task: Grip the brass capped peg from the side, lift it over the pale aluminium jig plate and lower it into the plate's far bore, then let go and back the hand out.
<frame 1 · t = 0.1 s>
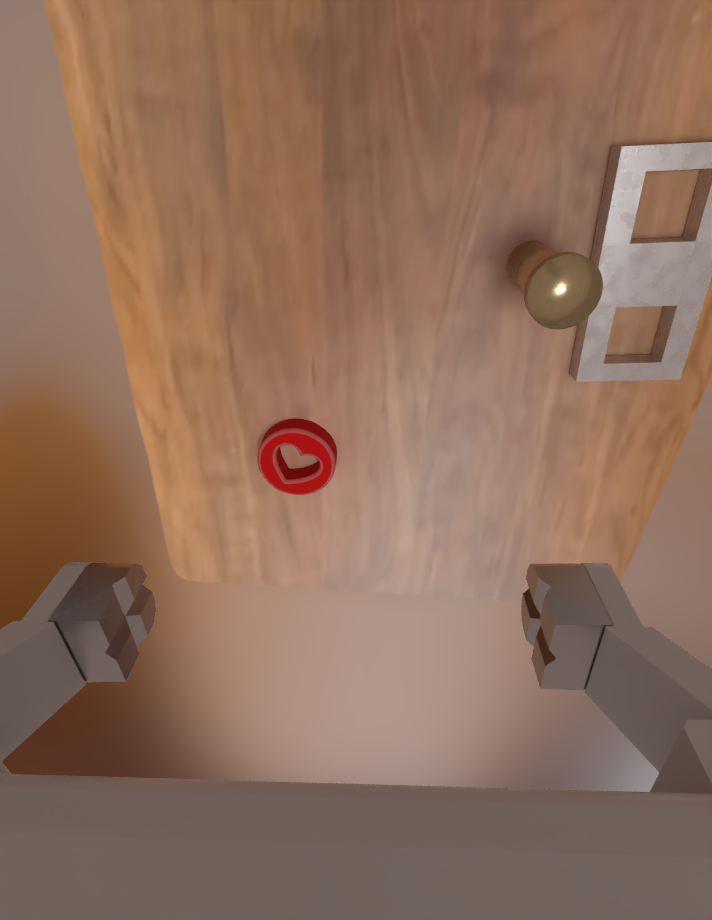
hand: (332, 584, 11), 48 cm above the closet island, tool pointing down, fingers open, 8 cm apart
brass capped peg: (529, 264, 52), on the closet island
decorative ornament: (299, 450, 66), on the closet island
jig: (643, 270, 52), on the closet island
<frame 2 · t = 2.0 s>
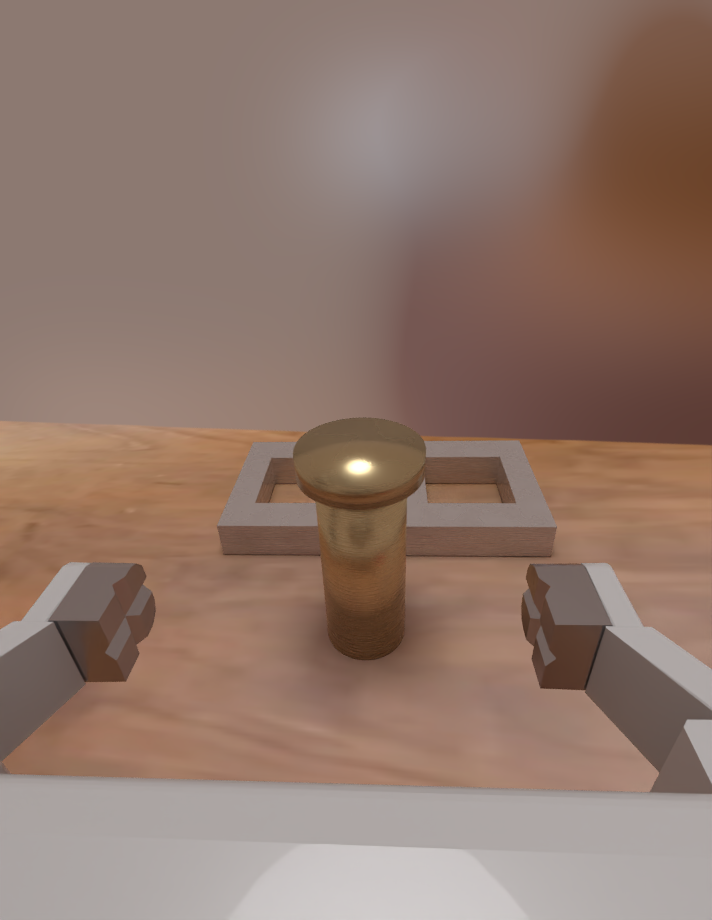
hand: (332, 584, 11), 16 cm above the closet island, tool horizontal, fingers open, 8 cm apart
brass capped peg: (366, 627, 30), on the closet island
jig: (384, 505, 39), on the closet island
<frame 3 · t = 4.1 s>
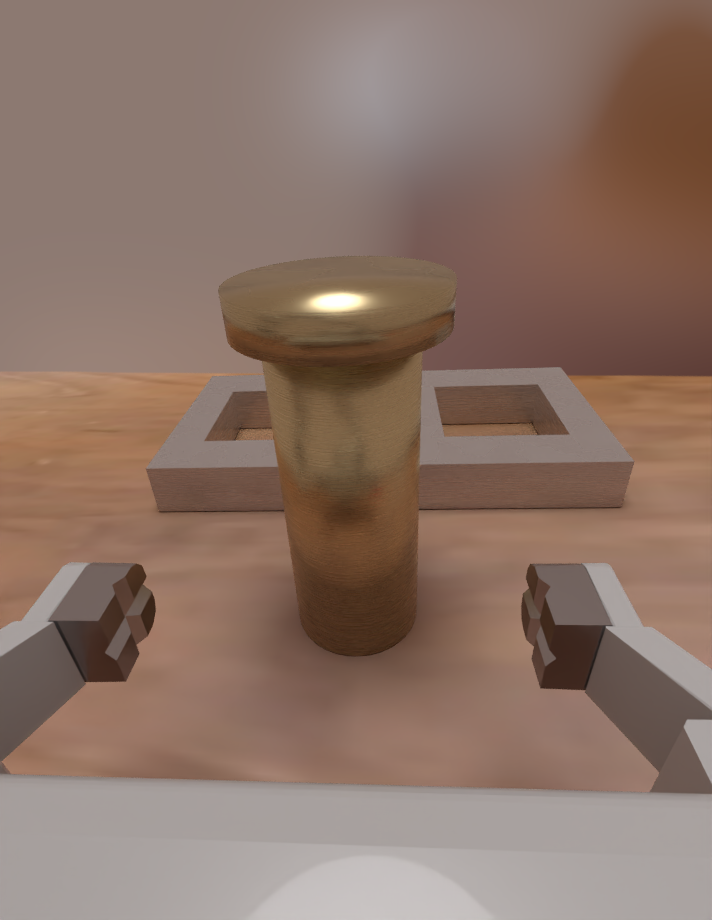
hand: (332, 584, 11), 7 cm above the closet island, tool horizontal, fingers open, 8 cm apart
brass capped peg: (357, 606, 19), on the closet island
jig: (383, 450, 29), on the closet island
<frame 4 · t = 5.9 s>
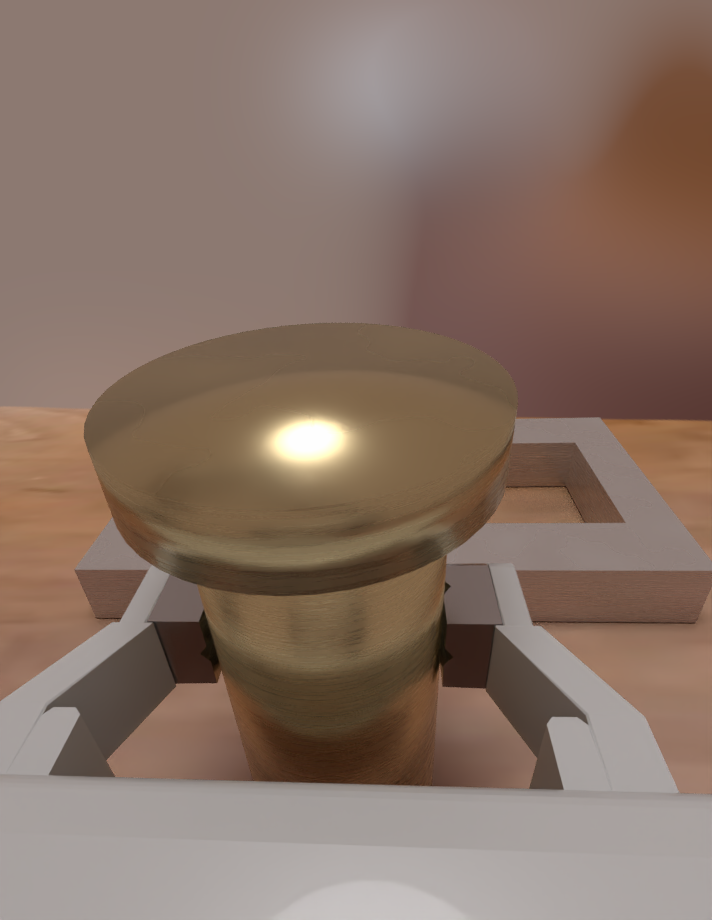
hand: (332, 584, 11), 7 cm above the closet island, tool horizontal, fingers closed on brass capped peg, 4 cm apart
brass capped peg: (347, 796, 14), on the closet island, touching gripper
jig: (384, 525, 24), on the closet island
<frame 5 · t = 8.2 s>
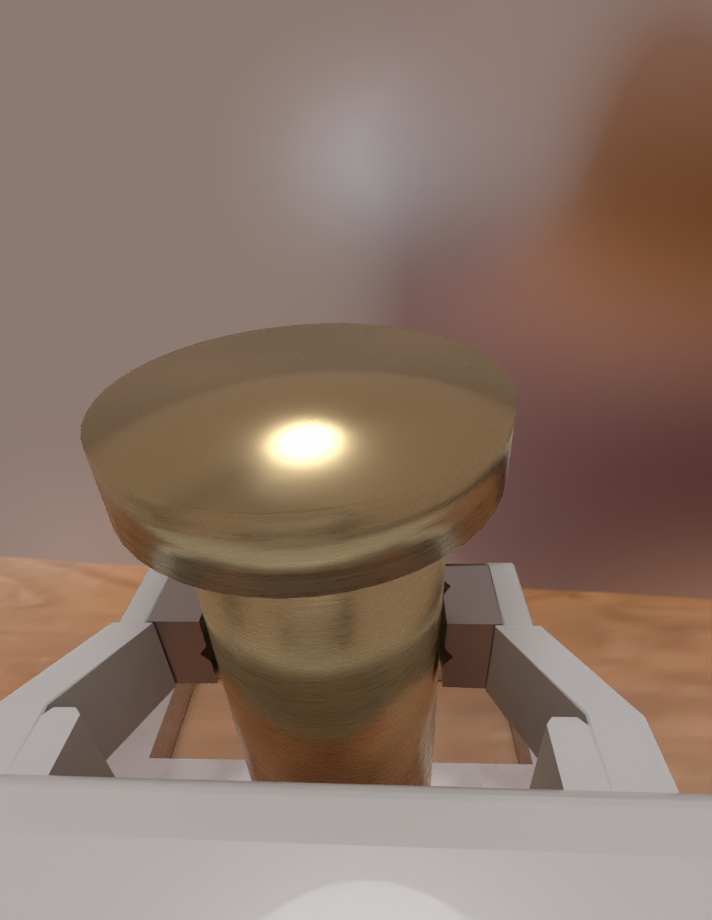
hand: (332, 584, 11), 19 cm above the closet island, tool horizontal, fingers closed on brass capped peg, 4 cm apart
brass capped peg: (346, 797, 14), point 12 cm above the closet island, touching gripper
jig: (343, 729, 28), on the closet island
when the fingers open (8 cm above the closet island, at t = 10.8 s): brass capped peg stays where it is, resting in jig.
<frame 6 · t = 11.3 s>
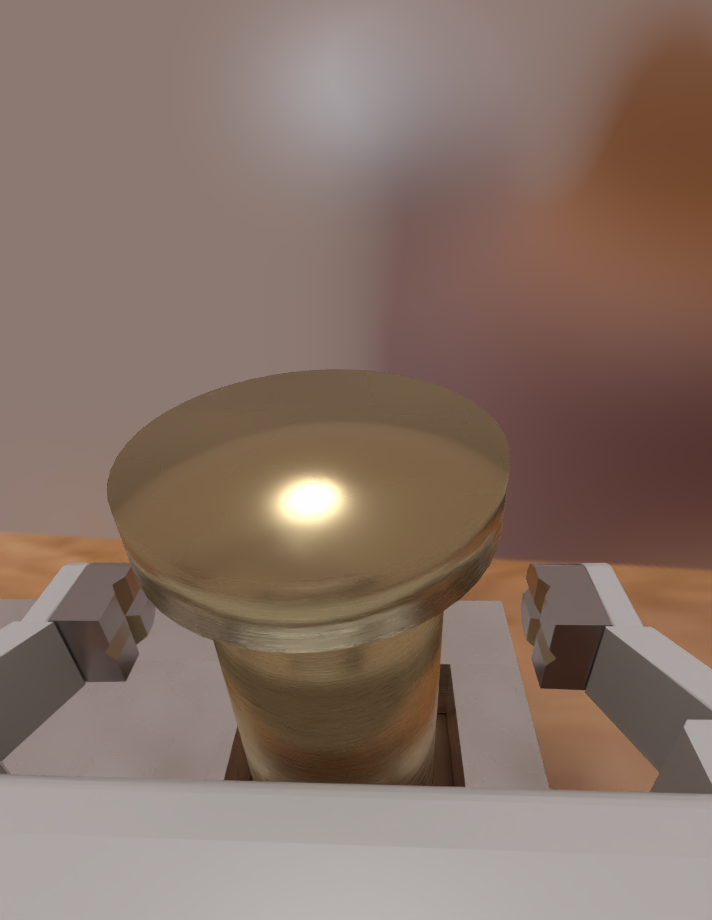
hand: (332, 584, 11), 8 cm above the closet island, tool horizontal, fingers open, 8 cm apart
brass capped peg: (349, 814, 14), resting in jig
jig: (140, 806, 15), on the closet island
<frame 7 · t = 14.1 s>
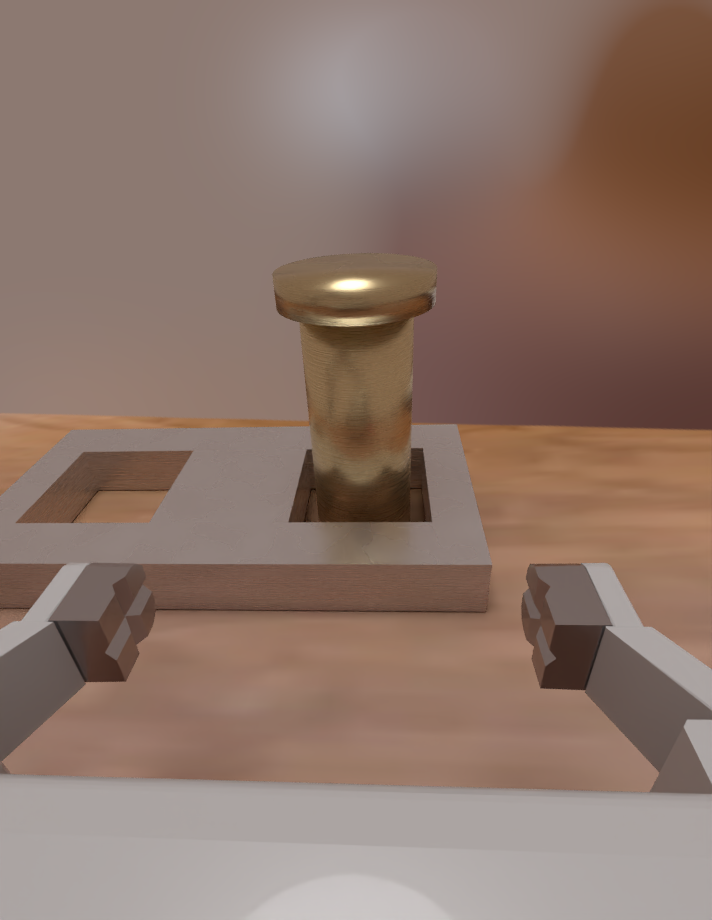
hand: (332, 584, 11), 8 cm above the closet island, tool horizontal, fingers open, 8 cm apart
brass capped peg: (364, 524, 25), resting in jig
jig: (243, 523, 26), on the closet island
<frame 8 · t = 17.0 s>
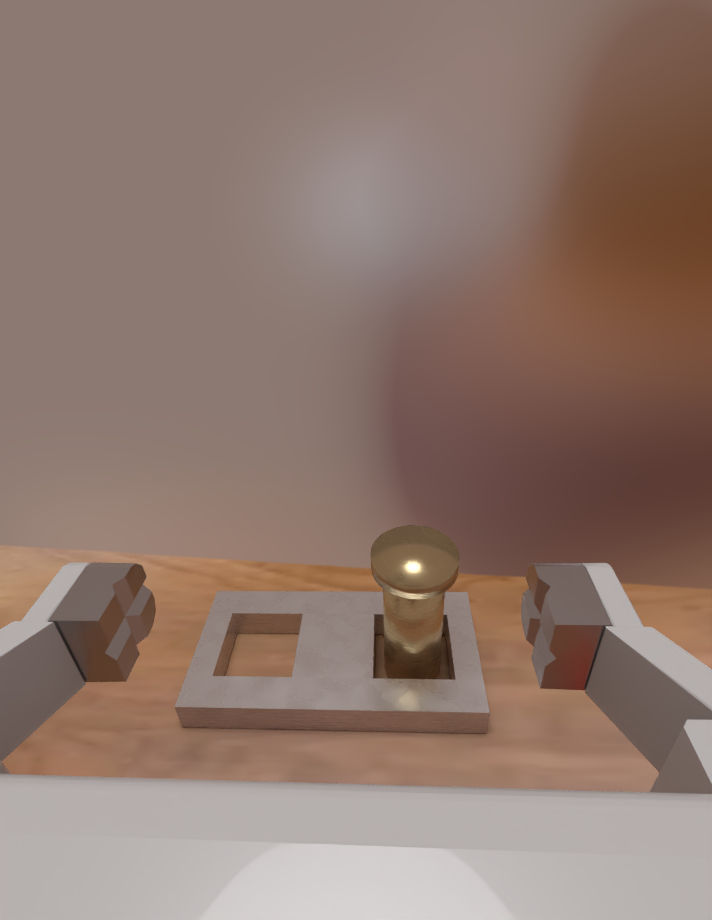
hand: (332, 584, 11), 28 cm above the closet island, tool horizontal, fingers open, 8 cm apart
brass capped peg: (411, 665, 41), resting in jig
jig: (337, 664, 42), on the closet island
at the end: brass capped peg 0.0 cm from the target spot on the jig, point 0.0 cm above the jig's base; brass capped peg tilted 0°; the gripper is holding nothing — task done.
